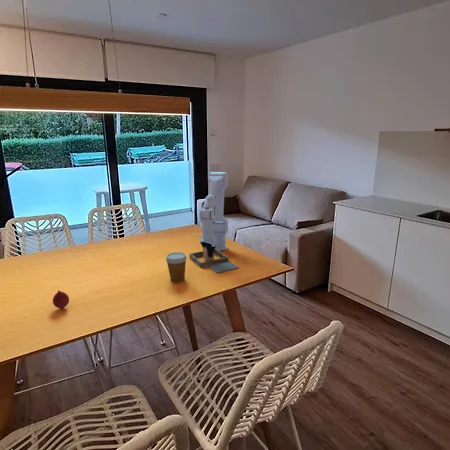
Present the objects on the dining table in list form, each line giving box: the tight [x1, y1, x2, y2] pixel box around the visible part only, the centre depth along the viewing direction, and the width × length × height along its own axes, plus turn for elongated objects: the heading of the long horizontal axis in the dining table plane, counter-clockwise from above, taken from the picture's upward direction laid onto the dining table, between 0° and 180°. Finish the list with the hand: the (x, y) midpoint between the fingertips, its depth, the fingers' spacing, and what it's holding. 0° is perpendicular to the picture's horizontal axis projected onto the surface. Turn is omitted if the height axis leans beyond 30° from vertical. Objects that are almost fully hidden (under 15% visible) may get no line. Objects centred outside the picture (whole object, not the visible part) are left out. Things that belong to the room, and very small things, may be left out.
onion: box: [52, 289, 70, 310], centre depth 134 cm, size 6×6×8 cm
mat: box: [208, 261, 239, 274], centre depth 172 cm, size 10×12×1 cm
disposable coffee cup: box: [165, 251, 188, 283], centre depth 157 cm, size 10×10×12 cm
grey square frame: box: [189, 249, 230, 269], centre depth 182 cm, size 16×16×2 cm
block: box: [202, 247, 215, 261], centre depth 181 cm, size 4×4×6 cm
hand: (208, 255), depth 181 cm, fingers closed on block, 4 cm apart
